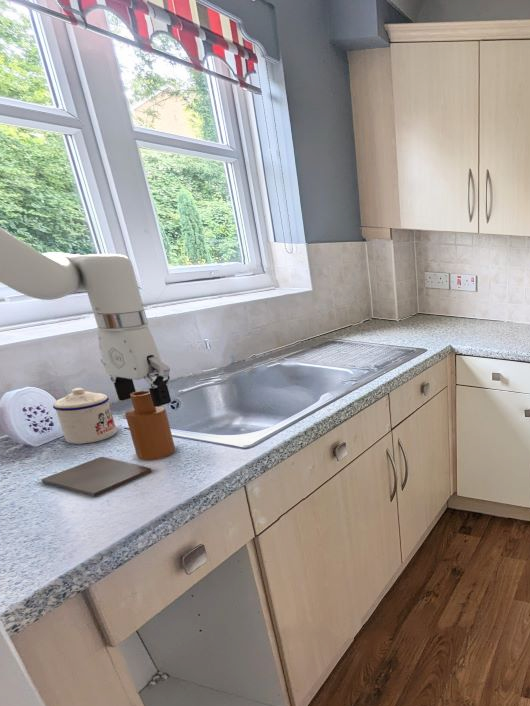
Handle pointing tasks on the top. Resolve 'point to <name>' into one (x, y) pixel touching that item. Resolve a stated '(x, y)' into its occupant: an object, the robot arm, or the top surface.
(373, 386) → the top surface
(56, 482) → the board
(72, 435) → the teacup with lid
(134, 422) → the bottle
